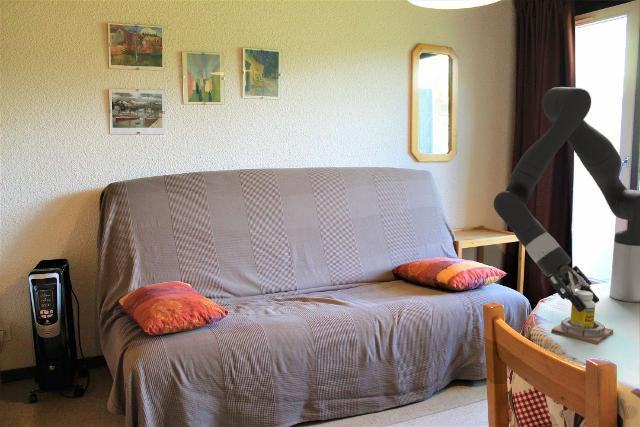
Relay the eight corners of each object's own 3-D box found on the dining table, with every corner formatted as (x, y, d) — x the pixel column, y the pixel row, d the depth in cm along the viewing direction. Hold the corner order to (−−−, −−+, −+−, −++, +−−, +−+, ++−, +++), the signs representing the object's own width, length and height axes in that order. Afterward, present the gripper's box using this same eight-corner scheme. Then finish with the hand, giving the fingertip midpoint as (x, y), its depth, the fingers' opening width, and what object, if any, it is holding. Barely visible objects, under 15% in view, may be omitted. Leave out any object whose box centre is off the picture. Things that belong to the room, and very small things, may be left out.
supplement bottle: (577, 324, 142) (580, 288, 140) (597, 330, 137) (600, 293, 136) (565, 328, 139) (568, 291, 137) (585, 334, 134) (588, 297, 133)
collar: (568, 321, 146) (569, 313, 146) (613, 332, 138) (613, 324, 138) (551, 332, 138) (552, 323, 138) (597, 344, 130) (598, 334, 130)
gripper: (546, 249, 135) (591, 304, 129) (569, 242, 145) (612, 292, 139) (524, 266, 140) (567, 320, 133) (548, 258, 150) (588, 308, 143)
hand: (590, 306), depth 136 cm, fingers open, 8 cm apart
